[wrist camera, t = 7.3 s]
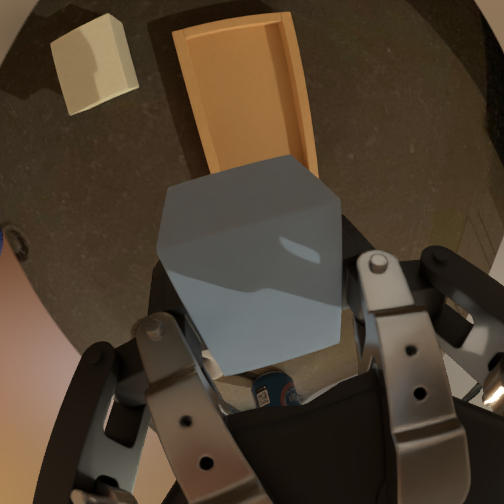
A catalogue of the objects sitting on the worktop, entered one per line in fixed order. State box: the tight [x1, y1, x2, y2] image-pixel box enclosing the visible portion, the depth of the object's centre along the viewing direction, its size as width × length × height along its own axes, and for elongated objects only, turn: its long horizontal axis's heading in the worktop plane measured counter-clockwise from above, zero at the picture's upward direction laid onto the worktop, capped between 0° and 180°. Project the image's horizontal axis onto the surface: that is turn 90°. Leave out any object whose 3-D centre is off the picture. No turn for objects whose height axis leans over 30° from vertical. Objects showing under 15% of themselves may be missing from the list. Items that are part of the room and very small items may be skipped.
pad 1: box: [50, 13, 139, 115], centre depth 14 cm, size 4×6×4 cm
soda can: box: [251, 371, 301, 408], centre depth 39 cm, size 7×7×12 cm
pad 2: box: [156, 154, 342, 376], centre depth 10 cm, size 4×6×4 cm
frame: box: [172, 12, 319, 179], centre depth 19 cm, size 9×15×2 cm, turn 11°
